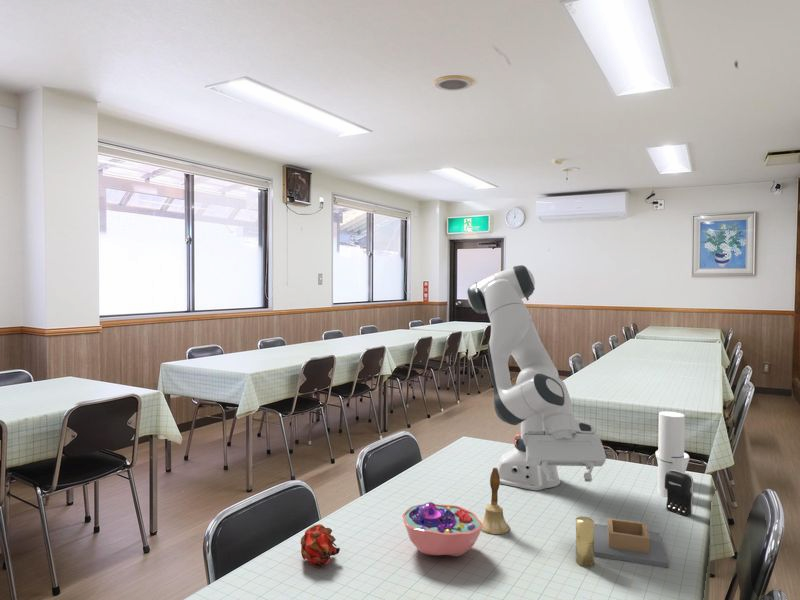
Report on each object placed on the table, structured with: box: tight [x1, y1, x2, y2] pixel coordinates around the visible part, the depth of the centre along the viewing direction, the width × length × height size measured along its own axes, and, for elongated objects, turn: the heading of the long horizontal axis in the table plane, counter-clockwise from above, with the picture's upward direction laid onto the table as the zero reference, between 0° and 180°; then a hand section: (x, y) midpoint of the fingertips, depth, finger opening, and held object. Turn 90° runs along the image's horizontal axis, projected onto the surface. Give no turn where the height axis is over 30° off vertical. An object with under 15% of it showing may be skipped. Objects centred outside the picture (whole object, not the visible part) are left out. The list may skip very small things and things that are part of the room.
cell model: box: [401, 501, 482, 557], centre depth 129 cm, size 17×20×11 cm
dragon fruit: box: [300, 523, 341, 569], centre depth 124 cm, size 8×8×12 cm
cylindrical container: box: [657, 410, 686, 498], centre depth 164 cm, size 7×7×25 cm
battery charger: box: [665, 470, 694, 517], centre depth 151 cm, size 7×4×11 cm, turn 33°
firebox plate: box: [594, 517, 669, 568], centre depth 132 cm, size 16×16×4 cm
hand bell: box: [480, 467, 511, 535], centre depth 141 cm, size 8×8×16 cm
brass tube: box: [575, 516, 595, 568], centre depth 124 cm, size 4×4×10 cm
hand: (569, 480), depth 135 cm, fingers open, 8 cm apart
